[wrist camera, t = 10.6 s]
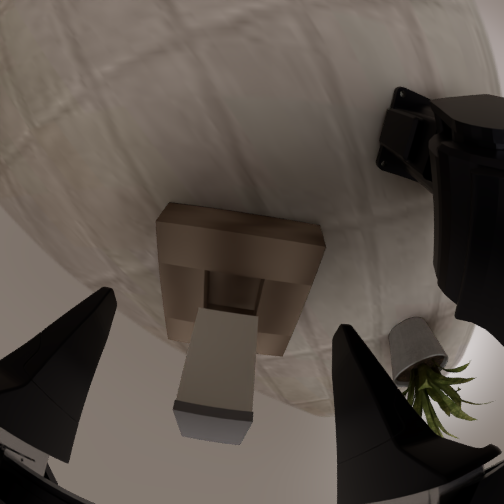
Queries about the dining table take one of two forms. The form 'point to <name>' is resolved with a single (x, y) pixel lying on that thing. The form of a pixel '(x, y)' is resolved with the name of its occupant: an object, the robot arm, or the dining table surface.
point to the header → (236, 269)
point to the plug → (218, 378)
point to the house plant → (424, 371)
